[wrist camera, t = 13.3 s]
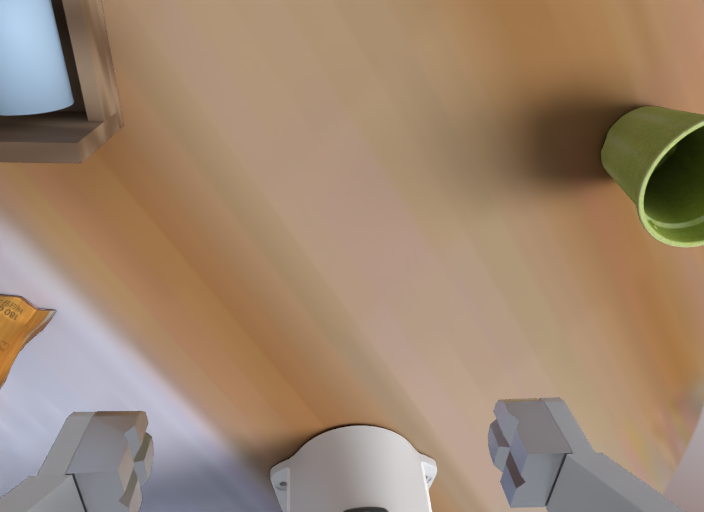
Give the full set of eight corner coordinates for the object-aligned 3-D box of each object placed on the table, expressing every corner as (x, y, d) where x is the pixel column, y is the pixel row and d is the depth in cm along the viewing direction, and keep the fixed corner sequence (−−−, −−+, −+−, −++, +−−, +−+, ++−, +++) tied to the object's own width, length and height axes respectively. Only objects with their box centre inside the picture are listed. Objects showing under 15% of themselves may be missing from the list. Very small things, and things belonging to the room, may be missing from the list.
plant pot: (611, 219, 44) (674, 271, 36) (557, 142, 40) (616, 183, 32) (712, 146, 41) (803, 186, 34) (665, 56, 37) (757, 79, 30)
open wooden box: (123, 125, 36) (81, 163, 29) (-9, 122, 35) (-85, 161, 29) (81, -105, 30) (14, -127, 23) (-83, -115, 29) (-206, -140, 22)
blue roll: (87, 98, 34) (54, 119, 30) (2, 97, 34) (-45, 118, 29) (51, -65, 30) (7, -70, 25) (-48, -70, 29) (-112, -77, 24)
